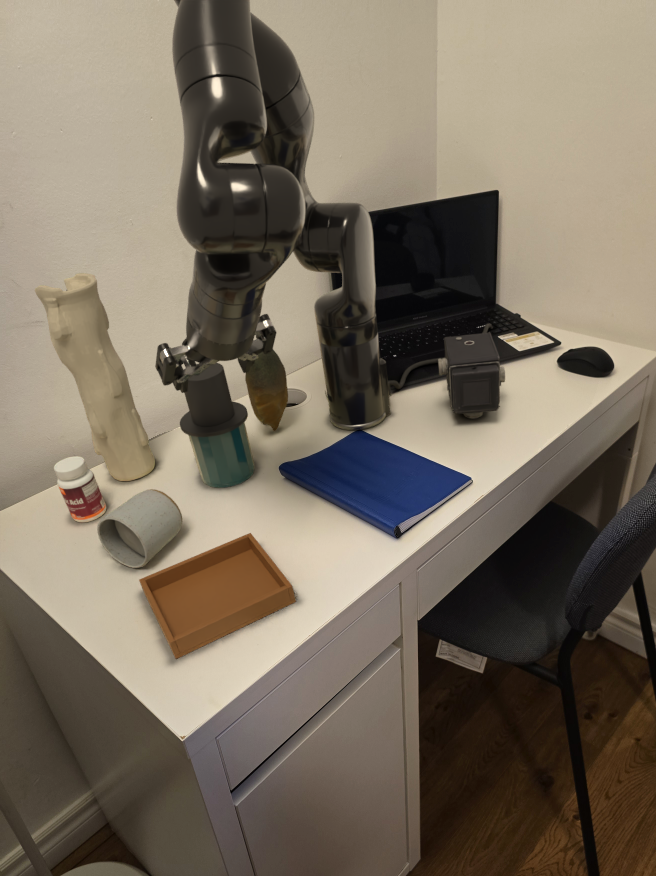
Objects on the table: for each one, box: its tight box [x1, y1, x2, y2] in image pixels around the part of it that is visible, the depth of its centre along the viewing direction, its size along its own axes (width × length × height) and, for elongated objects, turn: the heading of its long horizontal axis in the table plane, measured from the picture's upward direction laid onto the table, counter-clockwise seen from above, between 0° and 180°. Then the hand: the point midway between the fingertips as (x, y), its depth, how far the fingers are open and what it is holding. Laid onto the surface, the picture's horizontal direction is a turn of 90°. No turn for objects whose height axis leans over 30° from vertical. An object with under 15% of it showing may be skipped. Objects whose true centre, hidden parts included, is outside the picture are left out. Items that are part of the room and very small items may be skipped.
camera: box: [437, 331, 506, 419], centre depth 105 cm, size 11×11×15 cm
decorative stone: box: [244, 349, 289, 432], centre depth 104 cm, size 10×6×15 cm, turn 166°
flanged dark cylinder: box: [179, 362, 249, 437], centre depth 92 cm, size 10×10×9 cm
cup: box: [188, 421, 256, 489], centre depth 96 cm, size 8×8×9 cm
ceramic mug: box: [96, 488, 184, 569], centre depth 84 cm, size 11×8×8 cm
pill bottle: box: [53, 455, 107, 523], centre depth 91 cm, size 5×5×8 cm
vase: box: [34, 272, 156, 482], centre depth 94 cm, size 9×8×30 cm
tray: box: [138, 532, 297, 660], centre depth 76 cm, size 14×12×2 cm
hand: (212, 376), depth 85 cm, fingers open, 8 cm apart
